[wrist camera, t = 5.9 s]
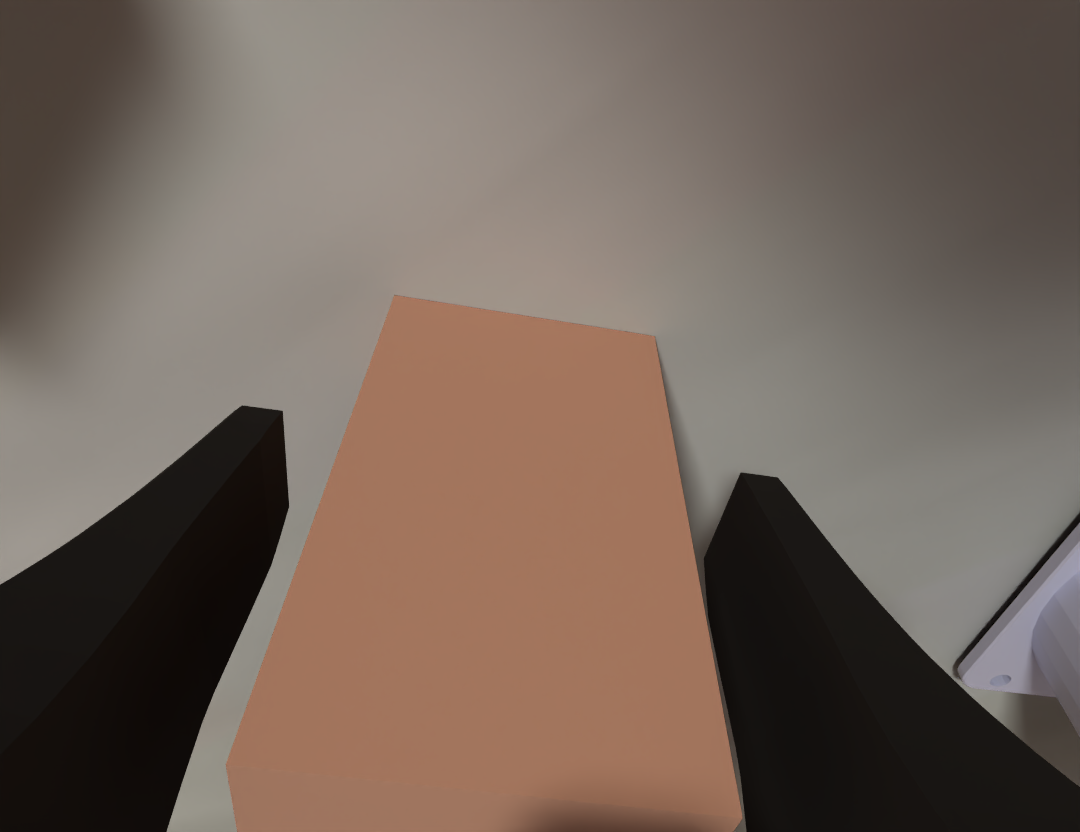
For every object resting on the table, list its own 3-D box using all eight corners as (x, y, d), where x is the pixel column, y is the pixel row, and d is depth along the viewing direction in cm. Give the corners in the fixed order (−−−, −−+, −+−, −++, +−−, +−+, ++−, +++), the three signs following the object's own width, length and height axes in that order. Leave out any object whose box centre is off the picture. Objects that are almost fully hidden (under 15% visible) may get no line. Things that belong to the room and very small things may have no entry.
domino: (654, 336, 15) (742, 818, 7) (630, 417, 16) (685, 897, 9) (394, 295, 14) (225, 764, 7) (389, 381, 15) (241, 855, 8)
